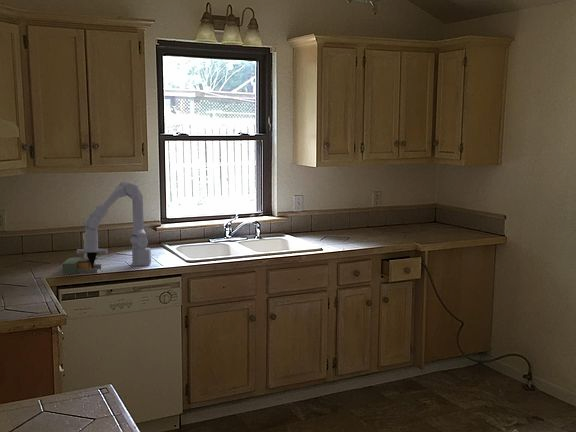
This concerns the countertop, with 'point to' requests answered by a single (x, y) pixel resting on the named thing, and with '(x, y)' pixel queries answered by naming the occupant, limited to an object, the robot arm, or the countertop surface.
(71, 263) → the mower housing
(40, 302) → the countertop surface
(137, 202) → the robot arm
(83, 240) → the syrup box
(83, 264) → the orange-topped grey cube
